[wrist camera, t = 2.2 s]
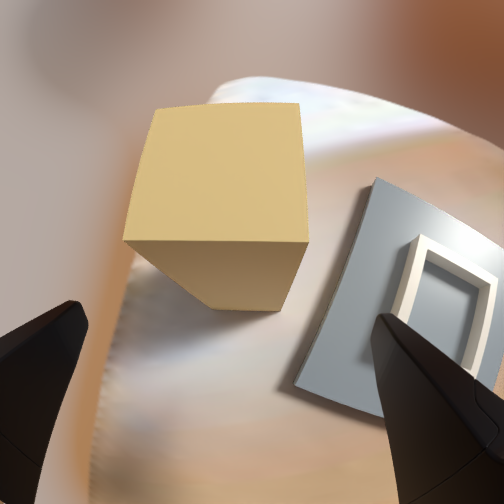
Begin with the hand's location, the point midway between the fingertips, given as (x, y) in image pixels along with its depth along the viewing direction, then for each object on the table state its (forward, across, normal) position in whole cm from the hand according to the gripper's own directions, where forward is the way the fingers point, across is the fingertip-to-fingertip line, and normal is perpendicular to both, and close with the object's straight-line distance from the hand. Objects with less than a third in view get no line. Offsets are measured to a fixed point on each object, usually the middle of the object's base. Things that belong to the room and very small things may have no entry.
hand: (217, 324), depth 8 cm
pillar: (+11, 0, +5) cm, 12 cm away
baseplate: (+8, -14, +7) cm, 18 cm away
